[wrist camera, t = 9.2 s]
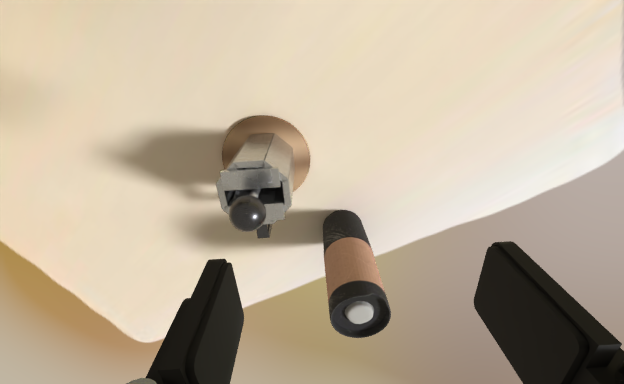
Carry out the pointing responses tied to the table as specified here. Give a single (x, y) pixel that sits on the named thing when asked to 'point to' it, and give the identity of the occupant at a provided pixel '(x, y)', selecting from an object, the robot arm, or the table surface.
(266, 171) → the grey slotted housing
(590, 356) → the robot arm
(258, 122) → the disc
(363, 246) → the travel mug
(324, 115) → the table surface
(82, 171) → the table surface
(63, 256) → the table surface
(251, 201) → the plunger
